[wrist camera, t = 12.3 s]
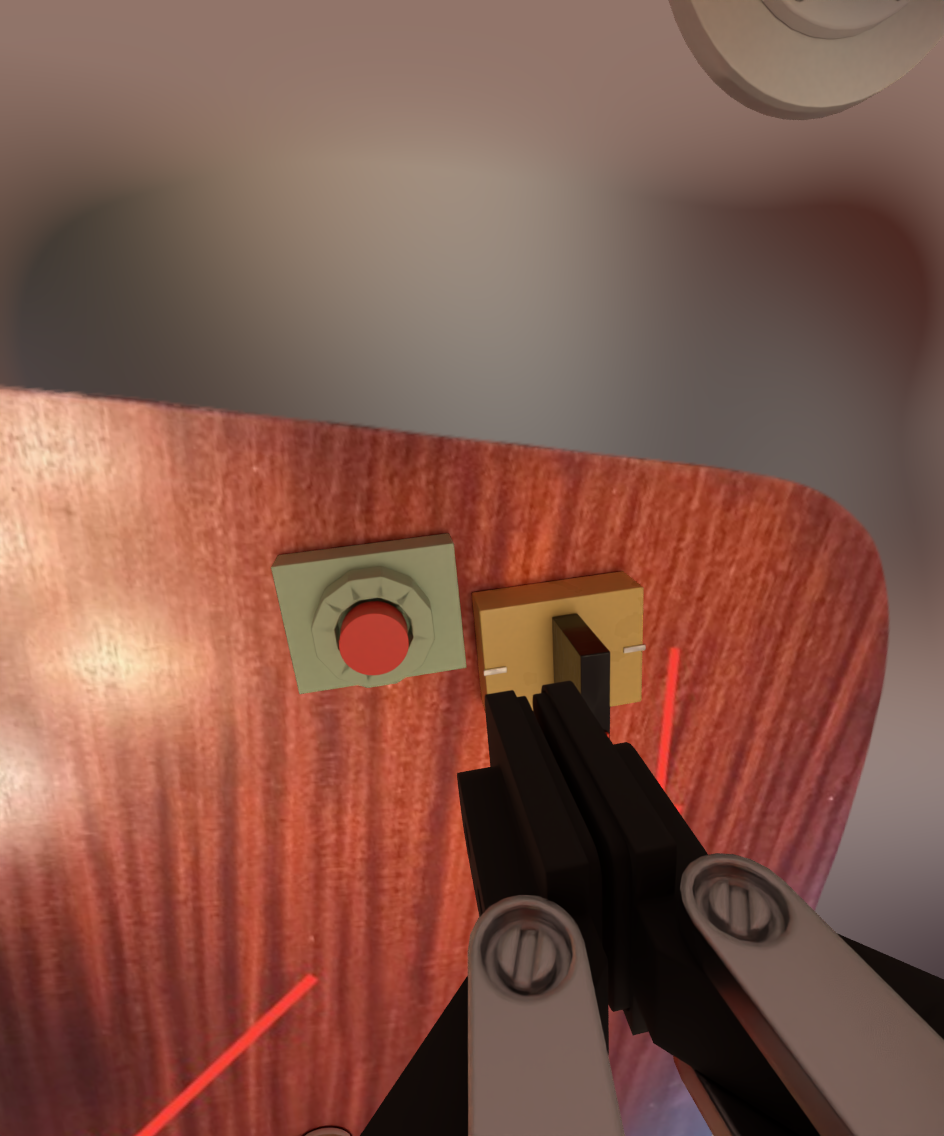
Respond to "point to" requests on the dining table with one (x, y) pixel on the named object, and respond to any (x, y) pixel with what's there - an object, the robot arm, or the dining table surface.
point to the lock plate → (525, 641)
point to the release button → (373, 638)
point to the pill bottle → (328, 1132)
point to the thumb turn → (583, 664)
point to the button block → (361, 574)
